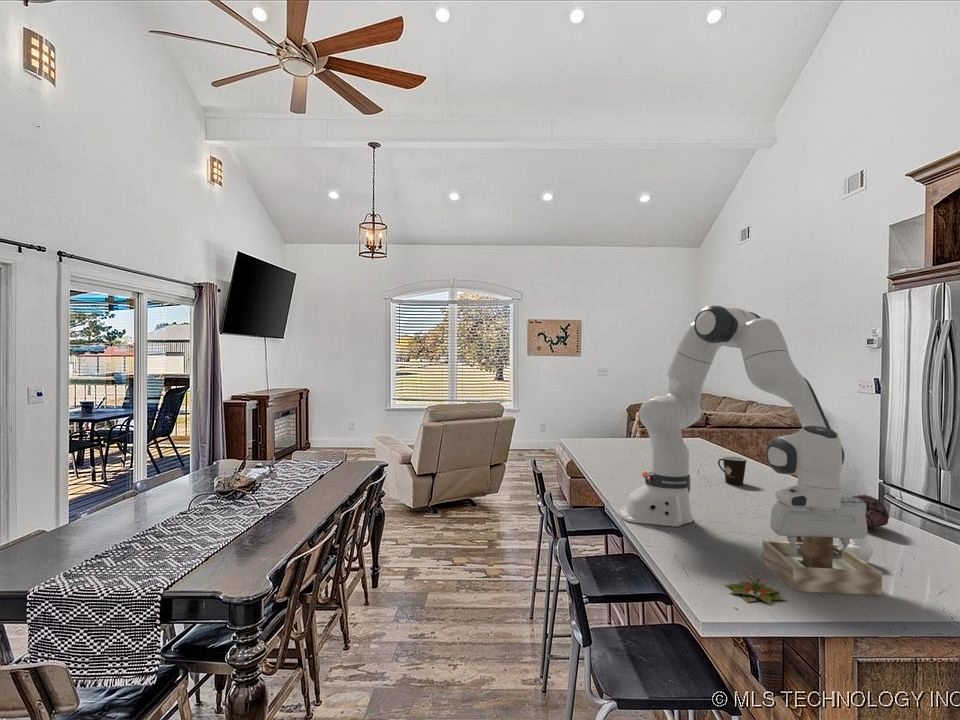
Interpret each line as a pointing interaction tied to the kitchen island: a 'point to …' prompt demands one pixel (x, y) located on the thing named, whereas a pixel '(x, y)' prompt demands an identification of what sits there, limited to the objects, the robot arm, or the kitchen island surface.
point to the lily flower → (755, 590)
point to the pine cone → (874, 511)
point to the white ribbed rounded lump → (860, 548)
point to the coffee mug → (733, 469)
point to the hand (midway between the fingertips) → (817, 555)
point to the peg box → (822, 571)
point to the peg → (818, 552)
